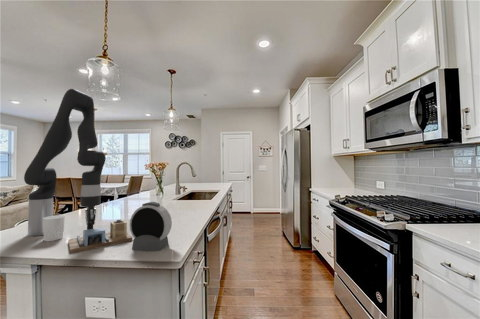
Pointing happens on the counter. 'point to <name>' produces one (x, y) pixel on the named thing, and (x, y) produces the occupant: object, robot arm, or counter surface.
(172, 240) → the counter surface
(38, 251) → the counter surface
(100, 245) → the jig board
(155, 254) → the counter surface
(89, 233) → the block
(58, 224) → the white cup
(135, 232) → the alarm clock
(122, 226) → the collar
